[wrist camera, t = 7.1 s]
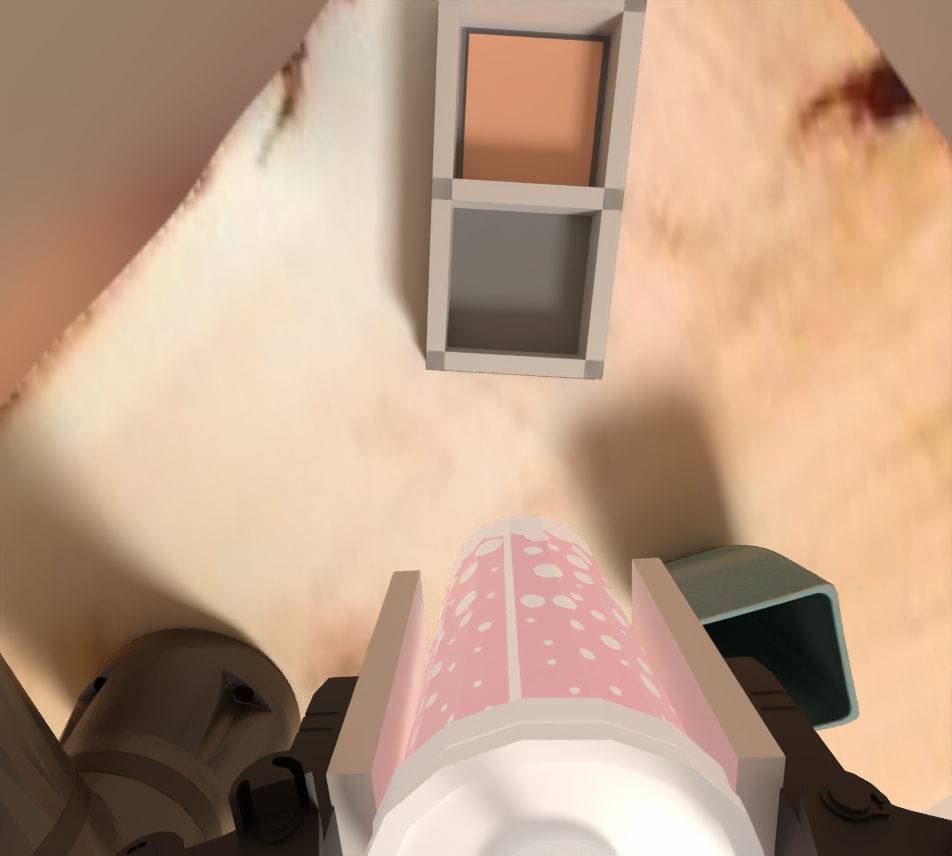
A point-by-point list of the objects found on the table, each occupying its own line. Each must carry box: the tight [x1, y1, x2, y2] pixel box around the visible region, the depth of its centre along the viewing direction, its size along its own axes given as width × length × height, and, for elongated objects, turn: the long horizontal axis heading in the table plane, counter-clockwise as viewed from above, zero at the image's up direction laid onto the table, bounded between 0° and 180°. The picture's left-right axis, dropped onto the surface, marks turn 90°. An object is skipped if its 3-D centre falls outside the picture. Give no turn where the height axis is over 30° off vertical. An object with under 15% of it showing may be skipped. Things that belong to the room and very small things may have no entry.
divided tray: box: [426, 0, 647, 380], centre depth 29 cm, size 10×19×4 cm, turn 177°
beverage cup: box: [364, 516, 765, 856], centre depth 10 cm, size 6×6×14 cm
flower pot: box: [664, 545, 859, 731], centre depth 32 cm, size 9×9×9 cm
